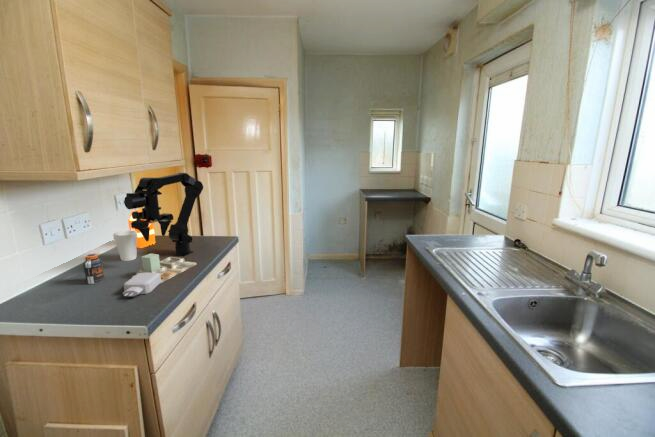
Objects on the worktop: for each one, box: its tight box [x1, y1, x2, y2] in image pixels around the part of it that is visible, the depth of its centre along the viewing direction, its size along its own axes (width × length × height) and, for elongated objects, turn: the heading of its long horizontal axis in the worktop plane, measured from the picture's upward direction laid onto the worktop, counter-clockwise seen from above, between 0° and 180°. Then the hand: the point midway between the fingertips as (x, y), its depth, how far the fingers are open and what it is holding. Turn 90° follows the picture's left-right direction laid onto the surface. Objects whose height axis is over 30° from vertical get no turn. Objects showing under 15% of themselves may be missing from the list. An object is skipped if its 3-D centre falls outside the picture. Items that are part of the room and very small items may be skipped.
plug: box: [141, 253, 161, 273], centre depth 129 cm, size 4×4×8 cm
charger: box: [122, 273, 162, 297], centre depth 115 cm, size 5×9×15 cm
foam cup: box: [112, 230, 138, 262], centre depth 148 cm, size 10×9×13 cm
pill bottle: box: [82, 253, 105, 285], centre depth 123 cm, size 6×6×11 cm
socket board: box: [131, 256, 197, 284], centre depth 135 cm, size 21×15×3 cm
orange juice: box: [128, 209, 156, 249], centre depth 168 cm, size 8×9×20 cm
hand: (155, 238), depth 142 cm, fingers open, 9 cm apart
